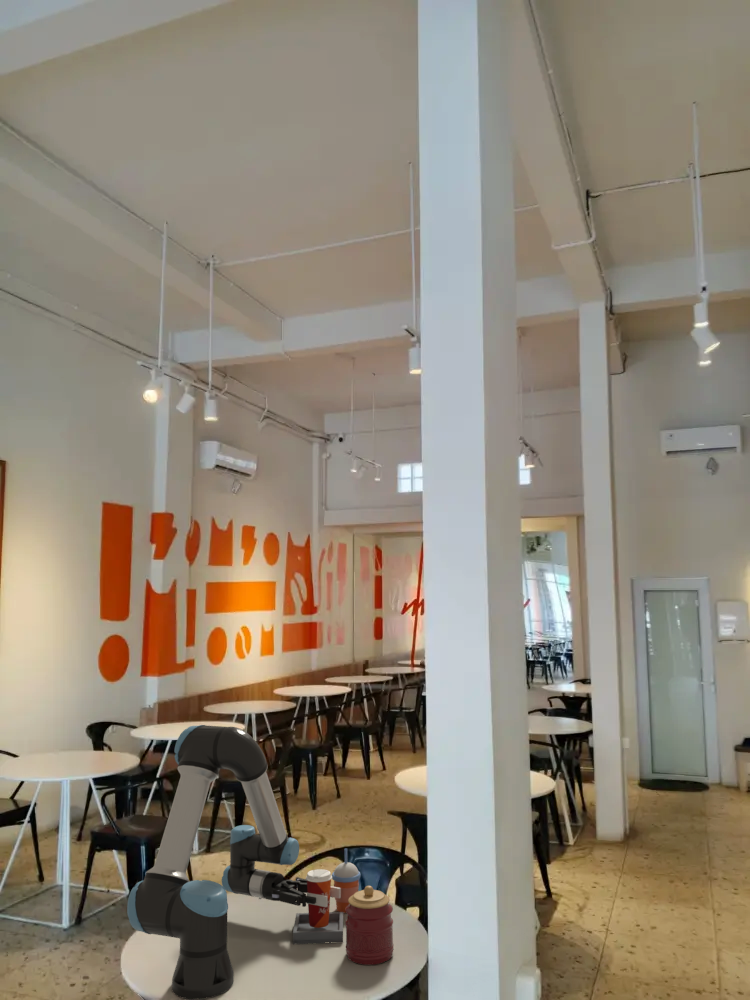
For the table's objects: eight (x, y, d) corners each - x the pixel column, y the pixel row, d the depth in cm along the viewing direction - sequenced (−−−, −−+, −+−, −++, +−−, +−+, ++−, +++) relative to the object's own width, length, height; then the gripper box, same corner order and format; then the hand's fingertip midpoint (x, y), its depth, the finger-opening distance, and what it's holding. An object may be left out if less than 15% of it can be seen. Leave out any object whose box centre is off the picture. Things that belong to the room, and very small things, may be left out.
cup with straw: (366, 907, 241) (365, 846, 244) (350, 917, 234) (349, 854, 236) (342, 902, 246) (342, 842, 249) (326, 911, 239) (325, 850, 241)
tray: (293, 944, 216) (292, 932, 216) (296, 924, 230) (296, 913, 230) (343, 942, 216) (342, 931, 217) (343, 922, 230) (343, 911, 230)
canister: (355, 969, 200) (354, 897, 202) (339, 949, 212) (338, 881, 214) (401, 960, 205) (400, 890, 207) (382, 941, 217) (381, 875, 219)
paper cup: (328, 930, 219) (328, 878, 221) (302, 928, 220) (302, 876, 222) (335, 919, 226) (335, 869, 228) (310, 917, 228) (310, 867, 230)
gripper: (286, 887, 241) (350, 899, 230) (248, 909, 224) (315, 923, 213) (286, 862, 242) (350, 873, 231) (248, 882, 225) (315, 894, 214)
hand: (333, 897), depth 222 cm, fingers closed on paper cup, 7 cm apart
